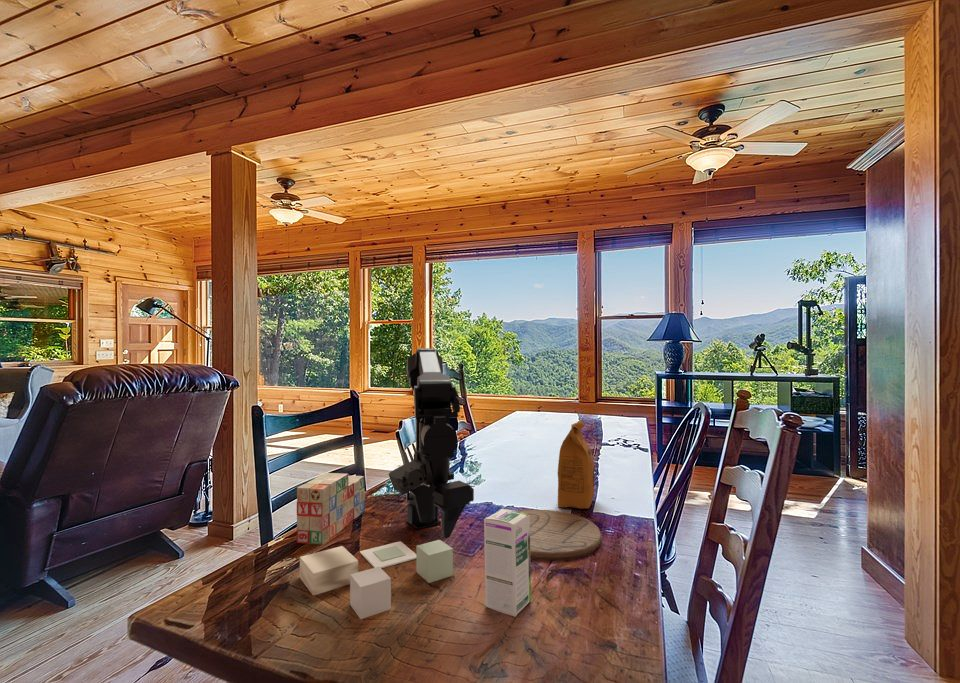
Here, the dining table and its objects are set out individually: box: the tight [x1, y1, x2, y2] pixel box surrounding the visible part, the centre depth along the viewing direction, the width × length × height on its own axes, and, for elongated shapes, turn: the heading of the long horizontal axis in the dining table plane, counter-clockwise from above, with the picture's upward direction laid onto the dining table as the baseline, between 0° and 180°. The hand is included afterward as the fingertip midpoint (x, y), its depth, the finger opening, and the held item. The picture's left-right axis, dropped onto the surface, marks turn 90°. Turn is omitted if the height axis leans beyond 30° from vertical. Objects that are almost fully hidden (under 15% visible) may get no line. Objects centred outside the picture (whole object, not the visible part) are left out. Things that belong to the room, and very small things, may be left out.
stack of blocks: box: [296, 472, 366, 546], centre depth 110 cm, size 21×6×12 cm, turn 169°
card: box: [359, 540, 416, 569], centre depth 93 cm, size 9×9×1 cm
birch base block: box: [299, 545, 359, 596], centre depth 84 cm, size 8×8×4 cm
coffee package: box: [557, 420, 596, 510], centre depth 125 cm, size 10×12×22 cm
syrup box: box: [483, 508, 532, 618], centre depth 75 cm, size 6×6×14 cm
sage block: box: [415, 539, 454, 584], centre depth 86 cm, size 5×5×5 cm
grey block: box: [349, 567, 392, 620], centre depth 75 cm, size 5×5×5 cm
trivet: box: [519, 508, 602, 561], centre depth 104 cm, size 25×25×2 cm
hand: (434, 529), depth 86 cm, fingers open, 9 cm apart
